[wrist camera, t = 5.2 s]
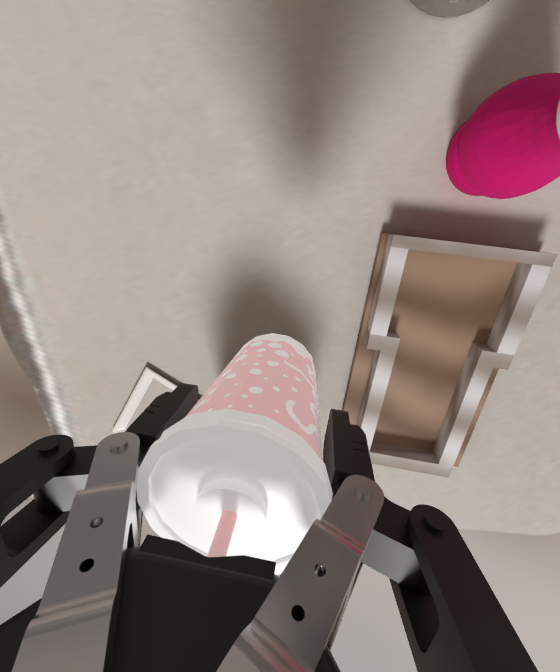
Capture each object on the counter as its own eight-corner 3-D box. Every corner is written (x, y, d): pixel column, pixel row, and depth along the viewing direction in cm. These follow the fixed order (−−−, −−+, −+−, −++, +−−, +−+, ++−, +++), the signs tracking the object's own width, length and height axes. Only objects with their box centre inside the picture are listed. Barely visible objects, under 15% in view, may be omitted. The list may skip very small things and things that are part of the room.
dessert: (191, 471, 43) (176, 500, 38) (116, 426, 42) (91, 451, 37) (233, 414, 39) (221, 439, 34) (150, 362, 37) (127, 381, 33)
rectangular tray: (381, 232, 29) (387, 233, 26) (539, 251, 27) (563, 255, 25) (335, 439, 37) (336, 457, 34) (454, 460, 36) (465, 480, 33)
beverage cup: (329, 417, 18) (344, 915, 5) (229, 414, 19) (30, 834, 6) (328, 318, 16) (352, 753, 3) (216, 320, 17) (-137, 664, 4)
